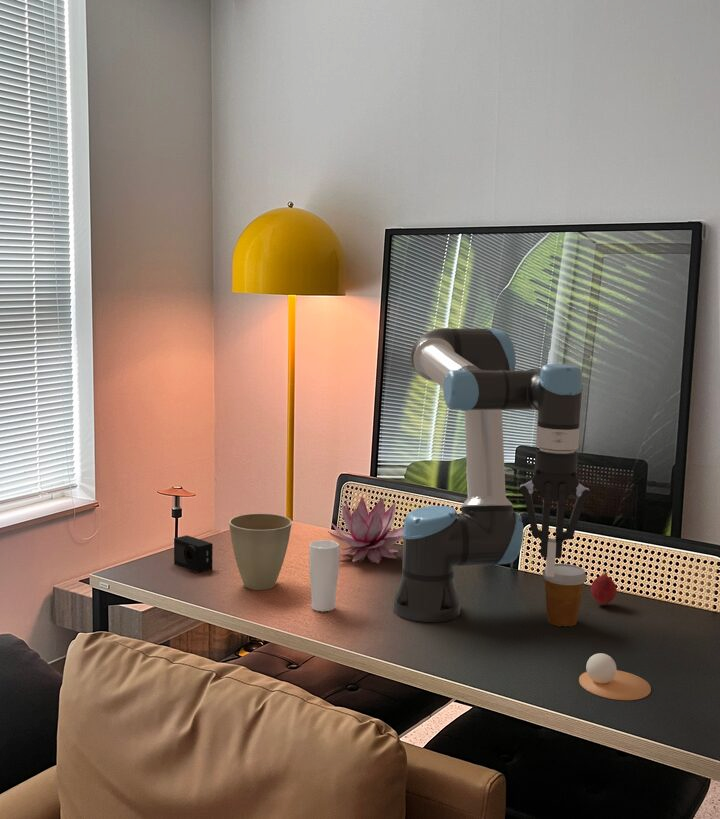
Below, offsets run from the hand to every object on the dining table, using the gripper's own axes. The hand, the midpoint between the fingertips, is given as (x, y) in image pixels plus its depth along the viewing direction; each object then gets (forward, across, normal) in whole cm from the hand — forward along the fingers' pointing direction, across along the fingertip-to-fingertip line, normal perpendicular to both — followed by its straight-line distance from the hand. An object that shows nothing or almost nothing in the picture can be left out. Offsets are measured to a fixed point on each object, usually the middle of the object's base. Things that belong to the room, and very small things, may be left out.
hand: (549, 574), depth 173 cm
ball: (+18, +10, 0) cm, 21 cm away
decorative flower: (+21, -44, +67) cm, 83 cm away
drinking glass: (+21, -48, +27) cm, 59 cm away
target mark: (+20, +13, 0) cm, 24 cm away
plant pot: (+21, -66, +39) cm, 79 cm away
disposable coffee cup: (+21, +5, +31) cm, 38 cm away
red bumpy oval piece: (+21, +15, +44) cm, 51 cm away
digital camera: (+21, -87, +49) cm, 102 cm away
